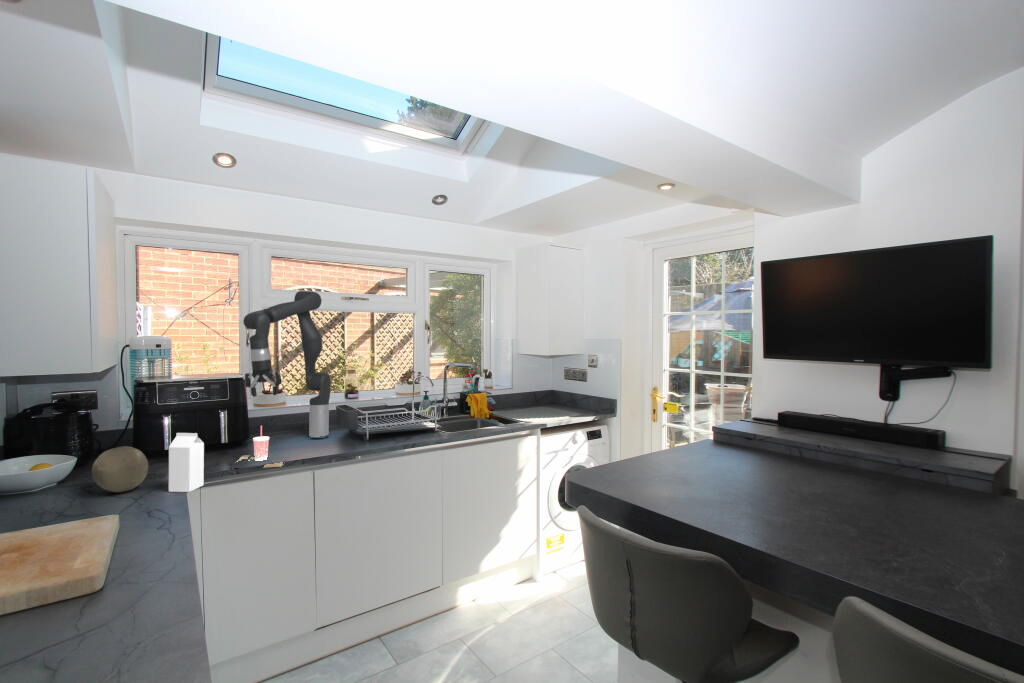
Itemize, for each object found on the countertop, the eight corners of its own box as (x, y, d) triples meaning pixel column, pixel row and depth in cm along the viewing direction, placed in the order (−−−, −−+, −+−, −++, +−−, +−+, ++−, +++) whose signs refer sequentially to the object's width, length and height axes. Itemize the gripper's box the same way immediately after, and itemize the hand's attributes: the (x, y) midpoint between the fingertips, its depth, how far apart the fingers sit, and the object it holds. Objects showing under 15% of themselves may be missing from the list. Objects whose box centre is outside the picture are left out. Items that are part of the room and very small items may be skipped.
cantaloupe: (104, 488, 161) (104, 443, 160) (154, 484, 166) (154, 441, 165) (83, 502, 147) (83, 453, 147) (138, 497, 152) (139, 450, 152)
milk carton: (189, 492, 157) (189, 435, 157) (168, 492, 158) (168, 435, 157) (203, 485, 164) (204, 431, 164) (183, 485, 165) (184, 430, 164)
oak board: (242, 457, 202) (242, 455, 202) (288, 455, 207) (288, 452, 207) (230, 469, 184) (230, 466, 184) (281, 466, 190) (281, 463, 190)
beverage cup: (265, 456, 200) (265, 423, 200) (272, 459, 196) (272, 425, 196) (250, 459, 195) (250, 425, 195) (256, 462, 191) (256, 427, 191)
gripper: (281, 356, 210) (285, 392, 211) (247, 358, 208) (251, 394, 210) (274, 359, 202) (278, 396, 204) (239, 361, 201) (243, 398, 203)
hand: (264, 395), depth 207 cm, fingers open, 8 cm apart
